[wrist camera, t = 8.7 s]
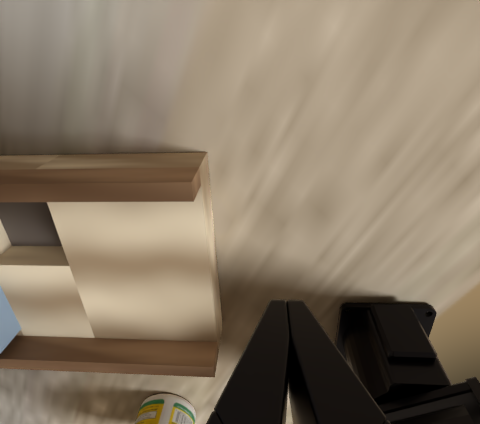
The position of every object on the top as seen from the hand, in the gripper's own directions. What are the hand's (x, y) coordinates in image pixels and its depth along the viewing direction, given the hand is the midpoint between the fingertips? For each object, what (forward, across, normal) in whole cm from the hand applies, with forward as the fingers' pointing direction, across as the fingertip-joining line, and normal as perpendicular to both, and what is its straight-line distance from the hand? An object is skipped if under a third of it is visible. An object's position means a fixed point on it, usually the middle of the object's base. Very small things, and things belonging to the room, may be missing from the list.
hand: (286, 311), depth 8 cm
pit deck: (+12, +14, +6) cm, 20 cm away
